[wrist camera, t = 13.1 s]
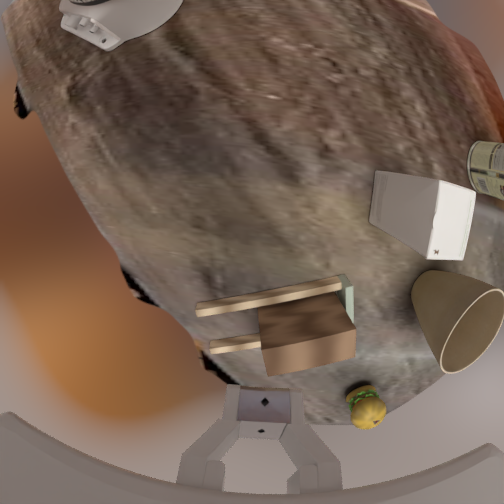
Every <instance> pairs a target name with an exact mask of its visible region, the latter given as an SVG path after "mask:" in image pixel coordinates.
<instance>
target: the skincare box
mask: <svg viewBox="0 0 504 504" xmlns="http://www.w3.org/2000/svg"><path fill="white" fill-rule="evenodd" d="M475 198H476V192H475V191H472V190H470V189H467V188H465V187H462V186H459V185H455V184H452V183H449V182H446V181H442V180H437V179H431V178H425V177H420V176H414V175H408V174H401V173H394V172H387V171H379V170H376V171H375V178H374V187H373V195H372V203H371V210H370V217H369V223H371V224H372V225H374V226H376V227H378V228H379V229H381V230H383V231H384V232H386V233H388V234H389V235H391V236H393V237H394V238H396V239H398V240H399V241H401V242H402V243H404V244H406V245H407V246H409V247H410V248H412V249H413V250H415V251H417V252H418V253H419V254H421V255H422V256H423V257H425V258H426V259H434V260H463V258H464V254H465V250H466V245H467V241H468V236H469V232H470V227H471V222H472V216H473V210H474V204H475Z"/></svg>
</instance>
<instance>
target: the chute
mask: <svg viewBox="0 0 504 504" xmlns="http://www.w3.org/2000/svg"><path fill="white" fill-rule="evenodd" d="M341 289H342V282H341V281H340V279H339V278H338V277H337V276H334V277H330V278H325V279H321V280H316V281H312V282H307V283H302V284H297V285H292V286H287V287H283V288H277V289H272V290H267V291H262V292H257V293H252V294H246V295H241V296H235V297H230V298H224V299H218V300H212V301H206V302H200V303H197V306H196V310H195V311H196V314H197V317H201V316H208V315H214V314H220V313H226V312H232V311H238V310H244V309H249V308H255V307H260V306H266V305H271V304H276V303H281V302H286V301H291V300H296V299H300V298H305V297H310V296H314V295H319V294H323V293H328V292H332V291H337V290H341ZM257 347H261V340H260V333H257V334H251V335H245V336H239V337H232V338H226V339H219V340H212V341H211V342H210V348H209V349H210V352H211V354H217V353H224V352H231V351H238V350H244V349H251V348H257Z"/></svg>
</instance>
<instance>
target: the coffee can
mask: <svg viewBox="0 0 504 504" xmlns="http://www.w3.org/2000/svg"><path fill="white" fill-rule="evenodd" d="M467 170H468V177H469V180H470V182H471V185H472V186H473V188H474V189H475V190H476V191H477V192H478V193H481V194H485V195H488V196H492V197H495V198H498V199H501V200H504V143H495V142H484V141H477V142H475V143H474V144H473V145H472V147H471V148H470V151H469V154H468V160H467Z"/></svg>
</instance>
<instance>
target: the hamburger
mask: <svg viewBox="0 0 504 504" xmlns="http://www.w3.org/2000/svg"><path fill="white" fill-rule="evenodd" d="M375 391H376V389H375V387H374V386H372V385H366V386H362V387H359V388H357V389H355V390H353V391H351V392H350V393H349V394H348V395H347V397H346V402H347V403H350V405H348V406H349V408H350V410H351V412H352V413H351V421H352V423H353V424H354V425H355V426H356V427H357V428H360V429H371V428H374V427H375V426H377V425H378V424H380V423H381V421H382V420H383V419H384V417H385V414H386V405H385V403H384V402H383V401H382V400H381V399H379V395H377V392H375Z"/></svg>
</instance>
